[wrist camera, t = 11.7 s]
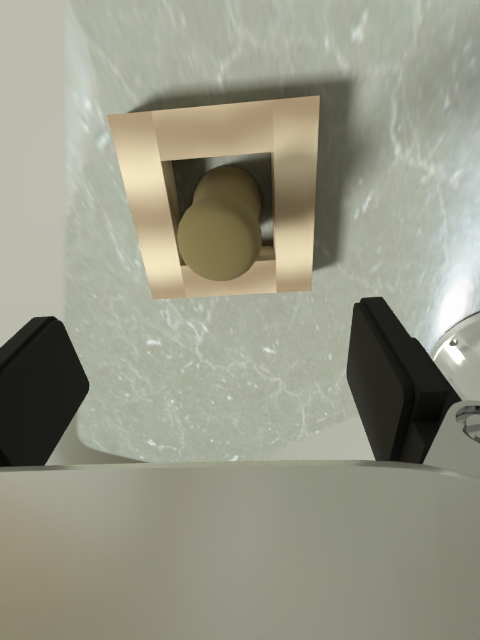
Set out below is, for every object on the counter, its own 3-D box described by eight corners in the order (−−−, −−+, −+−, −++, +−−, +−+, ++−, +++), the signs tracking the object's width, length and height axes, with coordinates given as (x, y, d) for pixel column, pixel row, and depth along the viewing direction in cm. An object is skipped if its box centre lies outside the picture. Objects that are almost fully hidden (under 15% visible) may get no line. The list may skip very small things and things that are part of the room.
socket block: (305, 273, 31) (311, 290, 28) (161, 282, 32) (152, 299, 29) (311, 97, 24) (319, 95, 21) (124, 114, 25) (107, 115, 22)
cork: (275, 217, 29) (288, 268, 19) (216, 250, 30) (202, 311, 21) (240, 149, 26) (236, 171, 17) (178, 190, 28) (142, 230, 18)
